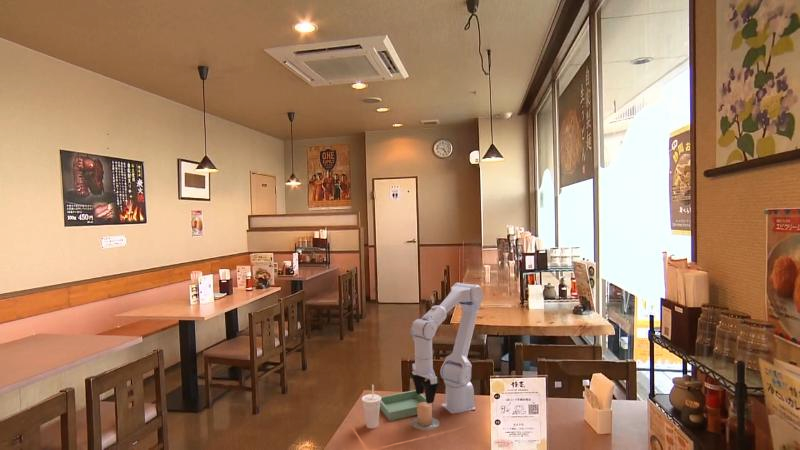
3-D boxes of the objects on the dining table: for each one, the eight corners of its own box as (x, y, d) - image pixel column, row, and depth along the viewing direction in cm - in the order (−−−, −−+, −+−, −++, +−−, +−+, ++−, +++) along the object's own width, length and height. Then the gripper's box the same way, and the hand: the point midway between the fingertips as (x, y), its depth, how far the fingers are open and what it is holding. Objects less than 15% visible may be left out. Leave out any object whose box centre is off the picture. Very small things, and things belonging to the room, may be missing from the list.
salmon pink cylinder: (428, 418, 144) (428, 400, 144) (434, 425, 139) (434, 406, 139) (415, 421, 142) (414, 403, 142) (421, 427, 138) (420, 409, 138)
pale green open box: (417, 398, 161) (417, 389, 161) (432, 412, 149) (432, 403, 149) (376, 406, 155) (376, 397, 155) (389, 422, 143) (389, 412, 143)
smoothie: (380, 432, 137) (379, 389, 136) (360, 431, 138) (359, 388, 137) (383, 422, 143) (382, 381, 142) (364, 421, 144) (363, 380, 143)
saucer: (431, 416, 147) (431, 414, 147) (444, 428, 139) (444, 426, 139) (407, 421, 143) (407, 419, 143) (418, 434, 135) (418, 432, 135)
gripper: (403, 352, 146) (404, 392, 146) (422, 365, 132) (423, 409, 133) (422, 349, 148) (423, 388, 149) (442, 362, 135) (443, 405, 135)
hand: (424, 398), depth 141 cm, fingers open, 7 cm apart
